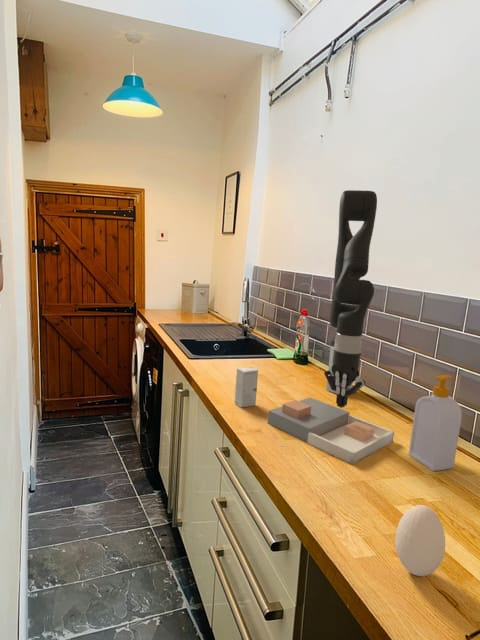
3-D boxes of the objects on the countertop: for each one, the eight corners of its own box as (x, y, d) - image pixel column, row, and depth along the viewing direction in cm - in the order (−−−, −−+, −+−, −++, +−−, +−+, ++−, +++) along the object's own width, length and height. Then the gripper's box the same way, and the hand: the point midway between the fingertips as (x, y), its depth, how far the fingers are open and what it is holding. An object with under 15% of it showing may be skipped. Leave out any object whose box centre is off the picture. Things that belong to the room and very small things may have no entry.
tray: (349, 424, 126) (350, 415, 126) (392, 441, 116) (394, 431, 116) (307, 443, 112) (308, 432, 111) (352, 464, 102) (353, 453, 101)
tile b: (294, 407, 126) (295, 400, 126) (310, 414, 122) (311, 406, 121) (281, 412, 122) (282, 404, 122) (297, 418, 118) (298, 410, 117)
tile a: (374, 428, 117) (373, 436, 118) (355, 421, 121) (355, 429, 122) (364, 433, 113) (363, 442, 114) (345, 426, 117) (344, 434, 118)
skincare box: (241, 408, 134) (243, 372, 132) (233, 403, 137) (236, 368, 135) (256, 405, 137) (259, 370, 135) (248, 400, 141) (251, 366, 139)
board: (308, 408, 137) (309, 397, 136) (348, 424, 126) (349, 412, 125) (267, 423, 123) (268, 410, 122) (307, 442, 112) (309, 428, 112)
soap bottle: (455, 468, 103) (470, 381, 99) (434, 472, 101) (448, 382, 97) (428, 451, 112) (441, 370, 108) (408, 454, 109) (420, 371, 105)
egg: (431, 597, 63) (442, 529, 61) (384, 571, 68) (393, 506, 66) (445, 571, 69) (456, 508, 67) (401, 548, 73) (410, 488, 71)
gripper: (375, 352, 115) (368, 410, 118) (335, 342, 125) (329, 396, 128) (361, 356, 110) (354, 417, 113) (320, 345, 120) (315, 402, 123)
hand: (341, 406), depth 121 cm, fingers closed
